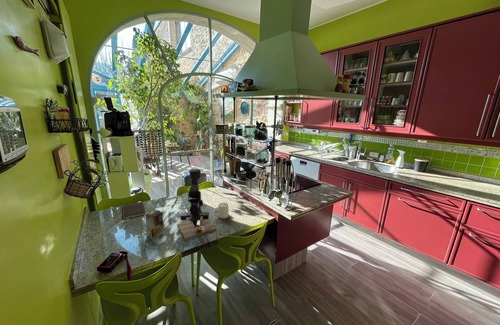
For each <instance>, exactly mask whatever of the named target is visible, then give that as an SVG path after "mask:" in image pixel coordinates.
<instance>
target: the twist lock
mask: <svg viewBox="0 0 500 325" xmlns="http://www.w3.org/2000/svg"><path fill="white" fill-rule="evenodd" d="M200 223H201V218H200V220H198V222H197V231H198V232H200V231H201V225H200Z"/></svg>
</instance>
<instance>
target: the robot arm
mask: <svg viewBox="0 0 500 325" xmlns="http://www.w3.org/2000/svg"><path fill="white" fill-rule="evenodd" d="M188 173H189V176H190V179H191V182H190V183H191V185H190V187H189V189H188V190H189V191H188V194H187V196H188V198H187V199H188V200H187V201H188V203H190V204H189V212H190V213H188V212H181V214H180V221H186V220H187V219H188V218H189V221H190V222H193V224H194V226H195V227H196V225H197V222H198V220H200V218H201V217H203V219H208V220H209V218H210V213H209V212H208V211H206V212H205V211H204V212H203V211H202V208H201V207H203V206H204V201H203V199H202V192H201V190H200V188H199V187H200V186H199V179H200V178H201V173H202V172H201V169H200V168H191V169H190V170H189V172H188Z"/></svg>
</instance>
